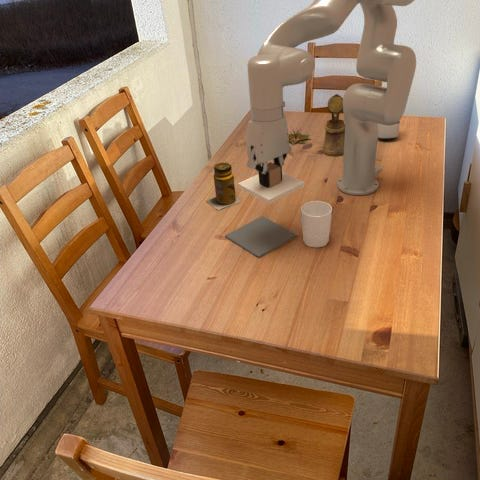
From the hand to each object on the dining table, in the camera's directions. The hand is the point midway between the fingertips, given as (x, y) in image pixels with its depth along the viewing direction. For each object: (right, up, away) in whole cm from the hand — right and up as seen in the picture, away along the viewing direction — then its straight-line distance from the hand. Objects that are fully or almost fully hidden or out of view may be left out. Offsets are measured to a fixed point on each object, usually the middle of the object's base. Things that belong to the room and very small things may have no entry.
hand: (270, 182), depth 119 cm
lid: (0, -1, +1) cm, 1 cm away
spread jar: (+45, +24, +59) cm, 78 cm away
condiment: (-13, -3, +28) cm, 31 cm away
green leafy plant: (+14, +24, +64) cm, 69 cm away
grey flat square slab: (-2, -14, +10) cm, 17 cm away
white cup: (+12, -15, +7) cm, 21 cm away
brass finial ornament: (+27, +19, +54) cm, 63 cm away
